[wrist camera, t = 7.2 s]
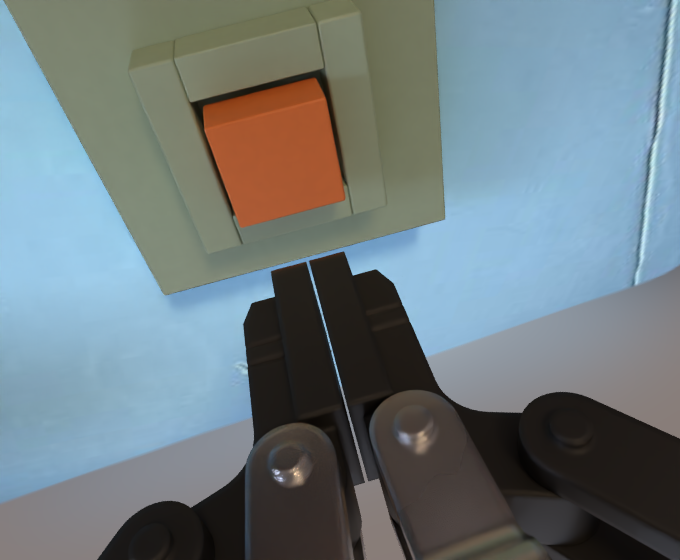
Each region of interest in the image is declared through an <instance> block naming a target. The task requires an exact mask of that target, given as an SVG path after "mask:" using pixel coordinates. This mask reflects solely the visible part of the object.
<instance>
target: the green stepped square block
mask: <svg viewBox="0 0 680 560" xmlns="http://www.w3.org/2000/svg"><path fill="white" fill-rule="evenodd" d="M4 2H5V4H6V6H7V8H8V9H9V11H10V13H11V15H12V17H13V19H14V20H15V22H16V24H17V26H18V28H19V30H20V31H21V33H22V35H23V37H24V39H25V41H26V42H27V44H28V46H29V48H30V50H31V52H32V53H33V55H34V57H35V59H36V61H37V63H38V65H39V66H40V68H41V70H42V72H43V74H44V76H45V77H46V79H47V81H48V83H49V85H50V87H51V88H52V90H53V92H54V94H55V96H56V98H57V99H58V101H59V103H60V105H61V107H62V109H63V110H64V112H65V114H66V116H67V118H68V120H69V121H70V123H71V125H72V127H73V129H74V131H75V133H76V134H77V136H78V138H79V140H80V142H81V144H82V145H83V147H84V149H85V151H86V153H87V155H88V156H89V158H90V160H91V162H92V164H93V166H94V167H95V169H96V171H97V173H98V175H99V177H100V178H101V180H102V182H103V184H104V186H105V188H106V189H107V191H108V193H109V195H110V197H111V199H112V200H113V202H114V204H115V206H116V208H117V210H118V212H119V213H120V215H121V217H122V219H123V221H124V223H125V224H126V226H127V228H128V230H129V232H130V234H131V235H132V237H133V239H134V241H135V243H136V245H137V246H138V248H139V250H140V252H141V254H142V256H143V257H144V259H145V261H146V263H147V265H148V267H149V268H150V270H151V272H152V274H153V276H154V278H155V279H156V281H157V283H158V285H159V287H160V289H161V291H162V292H163V294H164V295H169V294H172V293H176V292H180V291H183V290H187V289H191V288H195V287H198V286H202V285H206V284H209V283H213V282H217V281H220V280H224V279H228V278H231V277H235V276H239V275H242V274H246V273H250V272H253V271H257V270H261V269H264V268H268V267H272V266H276V265H279V264H283V263H287V262H290V261H294V260H298V259H301V258H305V257H309V256H312V255H316V254H320V253H323V252H327V251H331V250H334V249H338V248H342V247H345V246H349V245H353V244H357V243H360V242H364V241H368V240H371V239H375V238H379V237H382V236H386V235H390V234H393V233H397V232H401V231H404V230H408V229H412V228H415V227H419V226H423V225H426V224H430V223H434V222H438V221H441V220H444V219H445V205H444V186H443V166H442V147H441V127H440V108H439V89H438V69H437V50H436V31H435V11H434V0H4ZM312 77H315V78H316V79H317V81H318V83H319V85H320V87H321V89H322V91H323V93H324V95H325V97H326V100H327V105H328V110H329V115H330V120H331V125H332V131H333V136H334V141H335V146H336V151H337V156H338V161H339V166H340V171H341V176H342V181H343V186H344V191H345V197H346V198H345V200H344V201H341V202H337V203H333V204H330V205H326V206H322V207H318V208H315V209H311V210H307V211H303V212H300V213H296V214H292V215H289V216H285V217H281V218H277V219H274V220H270V221H266V222H262V223H259V224H255V225H251V226H247V227H244V228H241V227H240V226H239V223H238V220H237V218H236V215H235V212H234V210H233V207H232V204H231V202H230V199H229V196H228V193H227V191H226V188H225V185H224V183H223V180H222V177H221V174H220V172H219V169H218V166H217V164H216V161H215V158H214V156H213V153H212V150H211V147H210V145H209V142H208V139H207V137H206V134H205V131H204V115H203V106H205V105H207V104H211V103H215V102H219V101H223V100H227V99H231V98H235V97H239V96H242V95H246V94H250V93H254V92H258V91H262V90H266V89H270V88H273V87H277V86H281V85H285V84H289V83H293V82H297V81H301V80H305V79H308V78H312Z"/></svg>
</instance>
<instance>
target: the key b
mask: <svg viewBox="0 0 680 560" xmlns="http://www.w3.org/2000/svg"><path fill="white" fill-rule="evenodd" d="M203 115H204V131H205V134H206V137H207V139H208V142H209V145H210V147H211V150H212V153H213V156H214V158H215V161H216V164H217V166H218V169H219V172H220V174H221V177H222V180H223V183H224V185H225V188H226V191H227V193H228V196H229V199H230V202H231V204H232V207H233V210H234V212H235V215H236V218H237V220H238V223H239V226H240V227H241V228H244V227H247V226H251V225H255V224H259V223H262V222H266V221H270V220H274V219H277V218H281V217H285V216H289V215H292V214H296V213H300V212H303V211H307V210H311V209H315V208H318V207H322V206H326V205H330V204H333V203H337V202H341V201H344V200H345V198H346V197H345V191H344V186H343V181H342V176H341V171H340V166H339V161H338V156H337V151H336V146H335V141H334V136H333V131H332V125H331V120H330V115H329V110H328V105H327V100H326V97H325V95H324V93H323V91H322V89H321V87H320V85H319V83H318V81H317V79H316V78H315V77H312V78H308V79H305V80H301V81H297V82H293V83H289V84H285V85H281V86H277V87H273V88H270V89H266V90H262V91H258V92H254V93H250V94H246V95H242V96H239V97H235V98H231V99H227V100H223V101H219V102H215V103H211V104H207V105H205V106H203Z"/></svg>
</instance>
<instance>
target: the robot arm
mask: <svg viewBox="0 0 680 560" xmlns="http://www.w3.org/2000/svg"><path fill="white" fill-rule="evenodd" d="M309 262H310V266H311V270H312V274H313V277H314V281H315V285H316V289H317V293H318V296H319V300H320V304H321V308H322V312H323V315H324V319H325V323H326V327H327V331H328V334H329V338H330V342H331V346H332V350H333V353H334V357H335V361H336V365H337V369H338V372H339V376H340V380H341V384H342V388H343V391H344V395H345V399H346V402H347V406H348V410H349V414H350V417H351V421H352V424H353V427H354V432H355V435H356V439H357V442H358V446H359V449H360V453H361V456H362V460H363V464H364V467H365V471H366V474H367V478H368V481H371V480H375V479H378V478H379V480H380V483H381V487H382V490H383V494H384V497H385V501H386V505H387V508H388V512H389V516H390V520H391V524H392V526H393V529H394V532H395V535H396V537H397V540H398V543H399V546H400V548H401V551H402V554H403V556H404V559H405V560H680V439H679V438H677V437H675V436H672V435H670V434H668V433H666V432H664V431H661V430H659V429H657V428H655V427H652V426H650V425H648V424H646V423H644V422H642V421H639V420H637V419H635V418H633V417H630V416H628V415H626V414H624V413H622V412H619V411H617V410H615V409H613V408H611V407H608V406H606V405H604V404H602V403H599V402H597V401H595V400H593V399H591V398H588V397H586V396H583V395H579V394H575V393H568V392H555V393H549V394H546V395H543V396H540V397H538V398H536V399H534V400H533V401H532V402H531V403H529V404H528V406H527V407H526V408H525V409H524V411H523V413H504V412H482V411H476V410H472V409H469V408H466V407H463V406H461V405H459V404H457V403H455V402H454V401H453V400H451V399H450V398H448V397H447V396H446V395H445V394H444V393H443V392H442V390H441V389H440V388H439V386H438V384H437V382H436V381H435V378H434V376H433V373H432V371H431V369H430V367H429V364H428V362H427V360H426V357H425V355H424V353H423V350H422V348H421V346H420V343H419V341H418V339H417V337H416V334H415V332H414V330H413V327H412V325H411V323H410V322H409V318H408V316H407V313H406V311H405V309H404V306H403V305H402V302H401V300H400V297H399V295H398V293H397V290H396V288H395V286H394V283H392V282H391V281H390V280H389V279H387V278H386V277H385V276H384V275H382V274H381V273H380V272H379V271H378V270H372V271H368V272H365V273H361V274H357V275H352V273H351V270H350V267H349V264H348V261H347V258H346V255H345V253H344V252H340V253H336V254H333V255H329V256H325V257H322V258H318V259H314V260H310V261H309ZM271 276H272V282H273V288H274V293H275V297H273V298H269V299H265V300H262V301H258V302H254V303H252V304H251V306H250V309H249V311H248V314H247V316H246V319H245V321H244V324H243V326H244V336H245V346H246V357H247V364H248V377H249V387H250V397H251V407H252V417H253V427H254V444H253V448H252V450H251V452H250V454H249V456H248V459H247V463H246V464H245V466H244V467H243V469H242V470H241V471H240V473H239V474H238V475H237V476H236V477H235V478H234V479H233V480H232V481H231V482H230V483H229V484H227V485H226V486H224V487H223V488H221V489H220V490H218V491H217V492H215V493H214V494H212V495H211V496H209V497H207V498H206V499H204V500H203V501H201V502H199V503H198V504H196V505H195V506H193V507H192V508H190V507H189V506H187V505H185V504H183V503H180V502H176V501H163V502H158V503H154V504H152V505H149V506H147V507H145V508H143V509H142V510H140V511H138V512H137V513H136V514H134V515H133V516H132V517H131V518H129V519H128V520H127V521H126V522H125V523H124V525H123V526H122V527H121V528H120V529H119V531H118V532H117V534H116V535H115V536H114V538H113V539H112V540H111V542H110V543H109V544H108V546H107V547H106V548H105V550H104V551H103V553H102V554H101V555H100V557H99V558H98V559H97V560H366V554H365V548H364V542H363V535H362V530H361V526H362V525H361V524H362V521H361V515H360V510H359V506H358V502H357V498H356V494H355V489H354V486H355V485H359V484H362V483H365V481H364V478H363V474H362V470H361V466H360V462H359V458H358V454H357V450H356V447H355V443H354V439H353V435H352V431H351V427H350V423H349V420H348V416H347V412H346V408H345V404H344V400H343V397H342V393H341V389H340V385H339V381H338V377H337V373H336V369H335V366H334V362H333V358H332V354H331V350H330V346H329V342H328V339H327V335H326V331H325V327H324V324H323V320H322V316H321V313H320V309H319V306H318V302H317V299H316V295H315V291H314V288H313V284H312V281H311V277H310V274H309V270H308V267H307V263H306V262H304V263H300V264H296V265H292V266H289V267H285V268H281V269H277V270H274V271H271Z"/></svg>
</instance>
